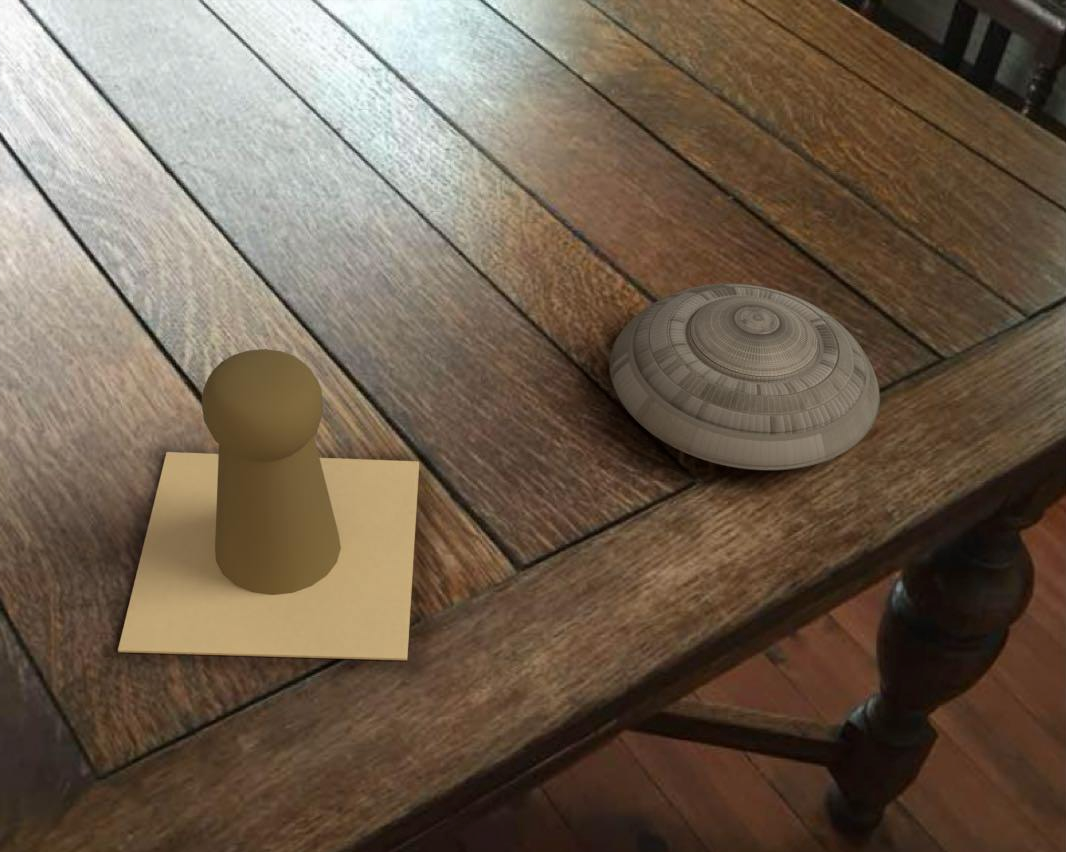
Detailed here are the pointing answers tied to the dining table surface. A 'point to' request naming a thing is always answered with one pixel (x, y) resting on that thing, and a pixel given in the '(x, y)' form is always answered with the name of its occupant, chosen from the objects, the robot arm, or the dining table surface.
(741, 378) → the flying saucer
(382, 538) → the felt square
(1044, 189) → the dining table surface
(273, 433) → the brown peg doll
